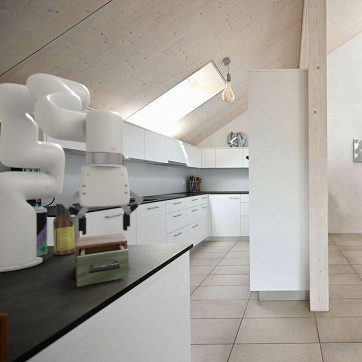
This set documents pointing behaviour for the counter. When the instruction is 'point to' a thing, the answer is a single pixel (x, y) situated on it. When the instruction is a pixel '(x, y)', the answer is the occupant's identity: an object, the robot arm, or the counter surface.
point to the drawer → (102, 264)
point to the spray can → (41, 229)
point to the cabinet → (99, 242)
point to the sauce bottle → (63, 231)
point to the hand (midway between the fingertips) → (105, 231)
